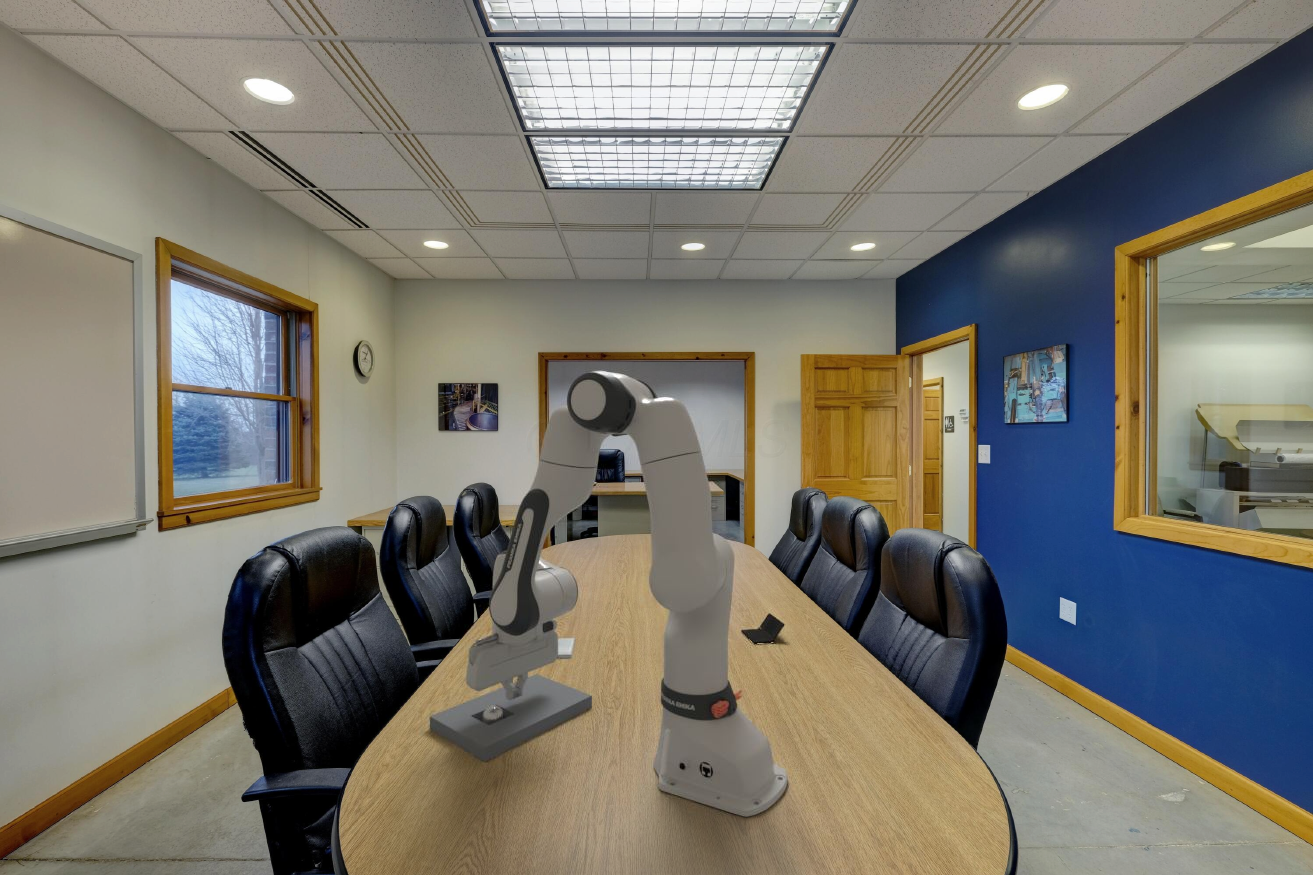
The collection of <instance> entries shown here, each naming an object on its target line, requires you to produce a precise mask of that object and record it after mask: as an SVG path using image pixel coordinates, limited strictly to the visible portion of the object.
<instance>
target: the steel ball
mask: <svg viewBox="0 0 1313 875" xmlns="http://www.w3.org/2000/svg"><path fill="white" fill-rule="evenodd" d="M503 716H504V715H503V711H502V709H501V708H500V707H498V706H490V707H488V708H487V709H486V710H485V711H484V713H483V715H482V722H483V723H485V724H487V725H491V724H493V723H496V722H498V721H500V720H502V719H503Z"/></svg>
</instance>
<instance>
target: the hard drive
mask: <svg viewBox="0 0 1313 875" xmlns="http://www.w3.org/2000/svg"><path fill="white" fill-rule="evenodd" d="M575 639H576V638H574V637H569V638H567V637H566V638H558V656H557V659H572V656H573V653H574V648H575V641H576V640H575ZM557 659H556V660H557Z"/></svg>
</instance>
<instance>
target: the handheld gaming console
mask: <svg viewBox="0 0 1313 875" xmlns="http://www.w3.org/2000/svg"><path fill="white" fill-rule="evenodd" d="M784 627H785V623H784V622H782V621H781V620H780V619H778V618H777V617H775V616H774V615H773V614H772V613H768V614H767V615H766V617H765V618H764V620H762V622H761V624H760V625H759V627H757V628H751V629H749V628H747V629H741V630H740V631H741V632H742V633H743V634H744V635H745V636H746V637H745V636H744V637H745V638H746V639H748V640H749V639H750V640H751V641H752V642H753V643H754V644H757V643H771V642H774V643H775V640H776V639H777V637H778V636H779V634H780V633H781V631H782V629H784ZM742 633H741V634H742ZM743 634H742V635H743ZM750 640H749V641H750ZM751 641H750V642H751ZM752 642H751V643H752ZM753 643H752V644H753ZM754 644H753V645H754Z"/></svg>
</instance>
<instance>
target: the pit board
mask: <svg viewBox="0 0 1313 875" xmlns="http://www.w3.org/2000/svg"><path fill="white" fill-rule="evenodd" d="M510 684H511V683H510ZM515 684H516V681H515V682H513V683H512V684H511V686H512V687H514V686H515ZM490 706H498V707H500V708H501V709H502V711H503V715H504V716H503V719H502V720H500V721H498V722H496V723H493V724H491V725H487V724H485V723H483V722H482V715H483V713H484V711H485V710H486V709H487V708H488V707H490ZM592 708H593V695H591V694H588V693H586V692H584V691H581V690H579V689H576V688H573V687H571V686H569V685H566V684H563V683H561V682H558V681H555V680H553V679H550V678H547V677H545V676H542V675H540V674H537V673H536V674H532V675H530V676H528V678H527V680H526V682H525V685H524V687H523V695H522V696H520V697H517V698H515V699H513V700H508V699H506V690H505V689H504V687H503V686H502V687H500V688H497V689H495V690H493V691H490V692H488V693H485V694H483V695H480V696H478V697H474V698H472V699H470V700H467V701H464V702H463V703H460V704H456V705H455V706H452V707H449V708H447V709H445V710H443V711H440V712H437V713H434V714H432V715H430V716H429V730H430V731H431V732H434V733H435V734H437V735H438V736H440V737H441V738H443V739H445V740H447V741H448V742H450V743H452V744H453V745H455V746H457V747H458V748H461V750H464V751H466V752H467V753H469V754H470V755H472V756H474V757H476V758H477V759H479V760H480V761H482V762H484V763H485V762H488V761H489V760H491V759H494V758H496V757H498V756H500V755H502V754H504V753H505V752H507V751H510V750H512V749H513V748H515V747H518V746H519V745H521V744H523V743H525V742H527V741H530V740H531V739H533V738H535V737H537V736H539V735H541V734H543V733H545V732H547V731H548V730H549V731H550V730H551V729H553V728H555V727H557V726H559V725H561V724H563V723H564V722H566V721H568V720H570V719H571V720H572V718H574V717H576V716H578V715H580V714H583V713H584V712H586V711H589V710H590V709H592Z"/></svg>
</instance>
